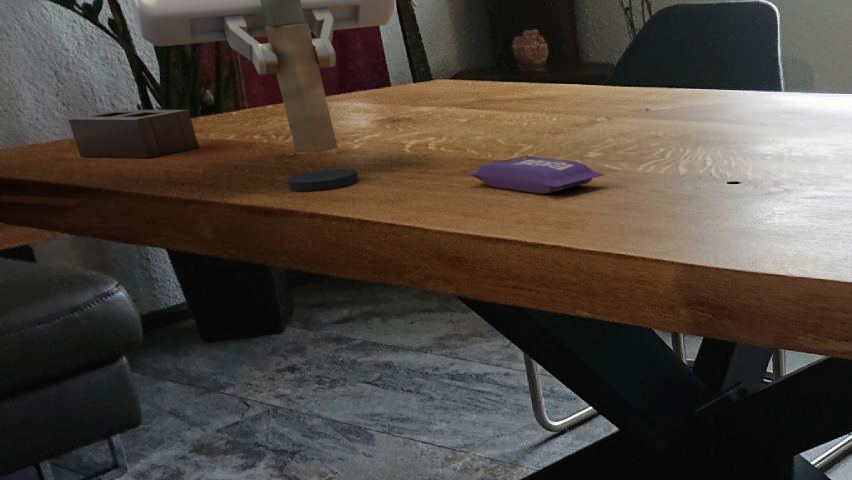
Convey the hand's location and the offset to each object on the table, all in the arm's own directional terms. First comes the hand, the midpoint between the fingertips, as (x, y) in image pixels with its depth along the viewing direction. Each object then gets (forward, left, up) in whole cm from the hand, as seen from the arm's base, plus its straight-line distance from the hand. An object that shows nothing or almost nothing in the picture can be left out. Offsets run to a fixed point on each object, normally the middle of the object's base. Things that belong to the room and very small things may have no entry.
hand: (298, 65), depth 90 cm
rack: (-21, +36, -10) cm, 42 cm away
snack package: (+16, -12, -10) cm, 23 cm away
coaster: (0, +1, -10) cm, 10 cm away
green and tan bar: (0, +1, -7) cm, 7 cm away
